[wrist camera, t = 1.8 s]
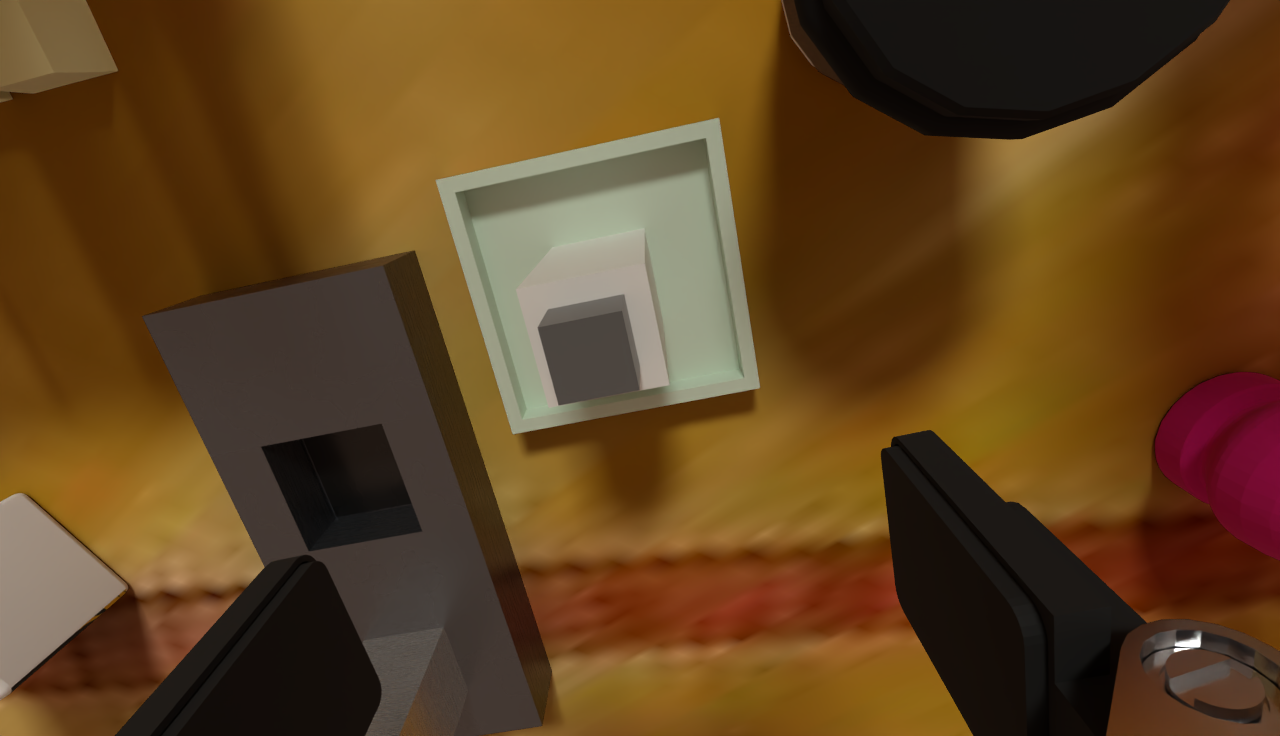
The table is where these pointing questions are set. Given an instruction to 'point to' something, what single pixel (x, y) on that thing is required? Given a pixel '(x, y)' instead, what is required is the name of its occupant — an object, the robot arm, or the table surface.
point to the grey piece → (367, 481)
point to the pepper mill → (1229, 453)
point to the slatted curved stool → (49, 46)
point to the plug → (595, 319)
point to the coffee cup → (993, 56)
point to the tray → (601, 206)
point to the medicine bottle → (44, 589)
